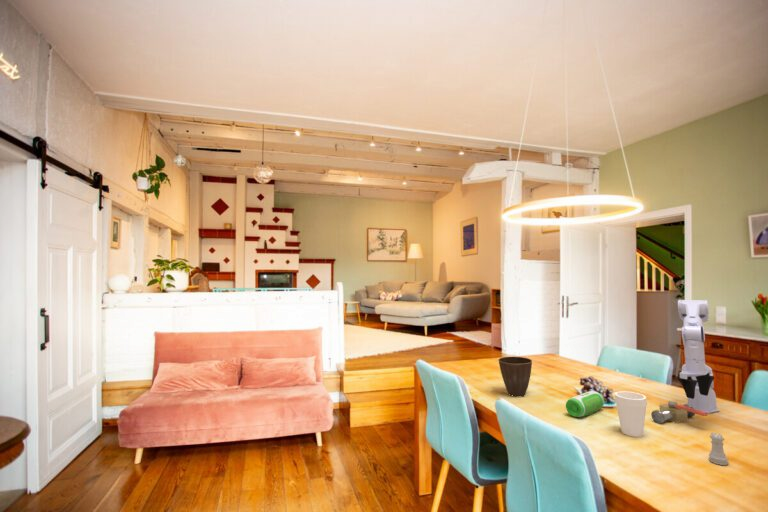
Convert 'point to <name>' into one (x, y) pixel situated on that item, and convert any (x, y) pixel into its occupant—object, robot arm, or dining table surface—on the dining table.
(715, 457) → the rook chess piece
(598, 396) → the speaker
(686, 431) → the dining table surface
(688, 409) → the lever
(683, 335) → the robot arm
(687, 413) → the valve body
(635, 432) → the foam cup
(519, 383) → the plant pot
